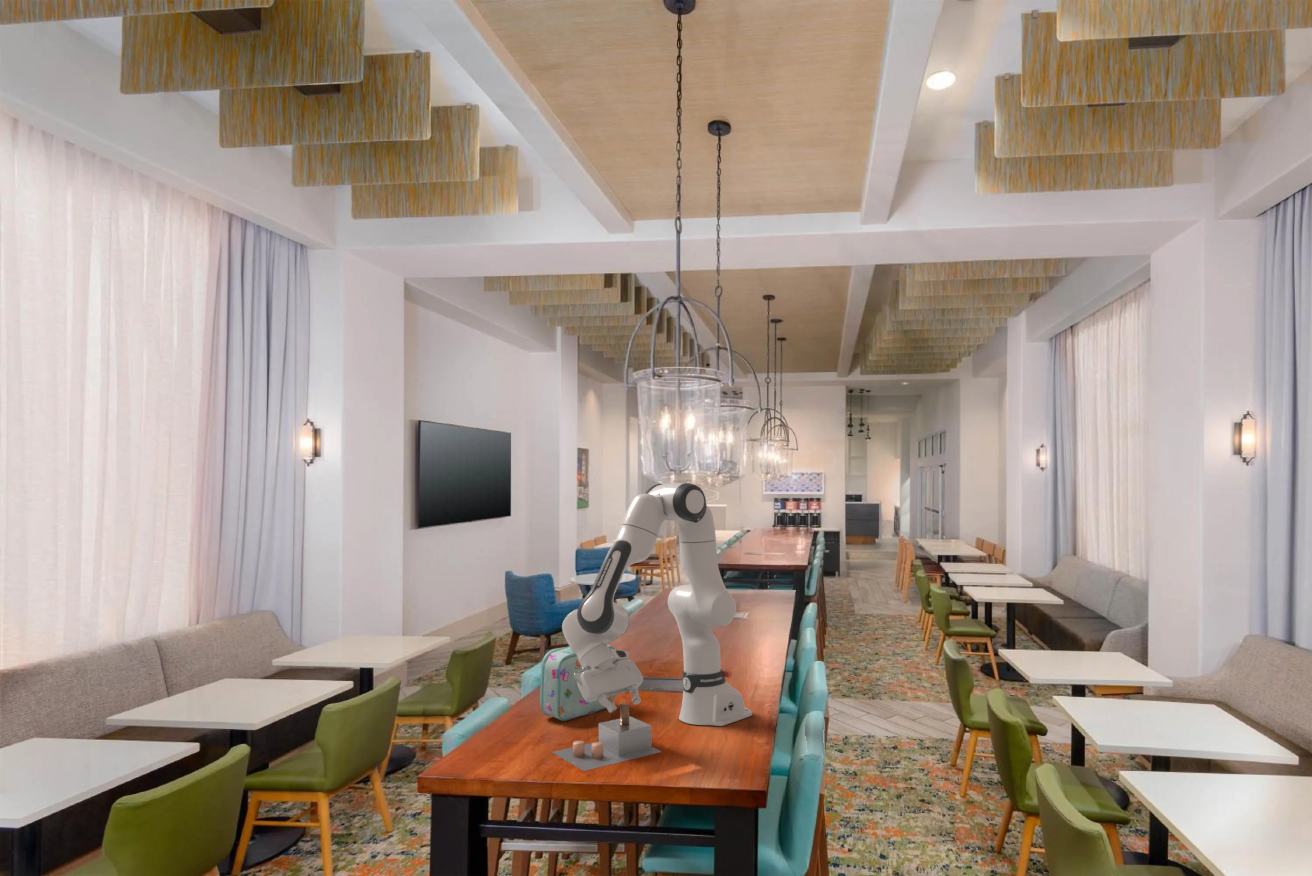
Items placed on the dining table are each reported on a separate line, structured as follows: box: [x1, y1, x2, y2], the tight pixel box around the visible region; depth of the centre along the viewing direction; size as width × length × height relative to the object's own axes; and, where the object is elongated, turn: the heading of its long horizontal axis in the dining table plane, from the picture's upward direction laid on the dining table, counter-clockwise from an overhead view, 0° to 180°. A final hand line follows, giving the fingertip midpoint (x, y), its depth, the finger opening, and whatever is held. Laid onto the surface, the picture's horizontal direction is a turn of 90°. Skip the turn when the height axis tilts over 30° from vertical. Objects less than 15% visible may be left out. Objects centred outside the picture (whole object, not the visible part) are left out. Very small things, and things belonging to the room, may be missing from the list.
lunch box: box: [539, 644, 616, 721], centre depth 248 cm, size 27×10×21 cm, turn 141°
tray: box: [551, 740, 663, 772], centre depth 207 cm, size 23×17×4 cm
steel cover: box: [598, 703, 652, 757], centre depth 211 cm, size 10×10×11 cm
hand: (626, 706), depth 211 cm, fingers open, 8 cm apart
